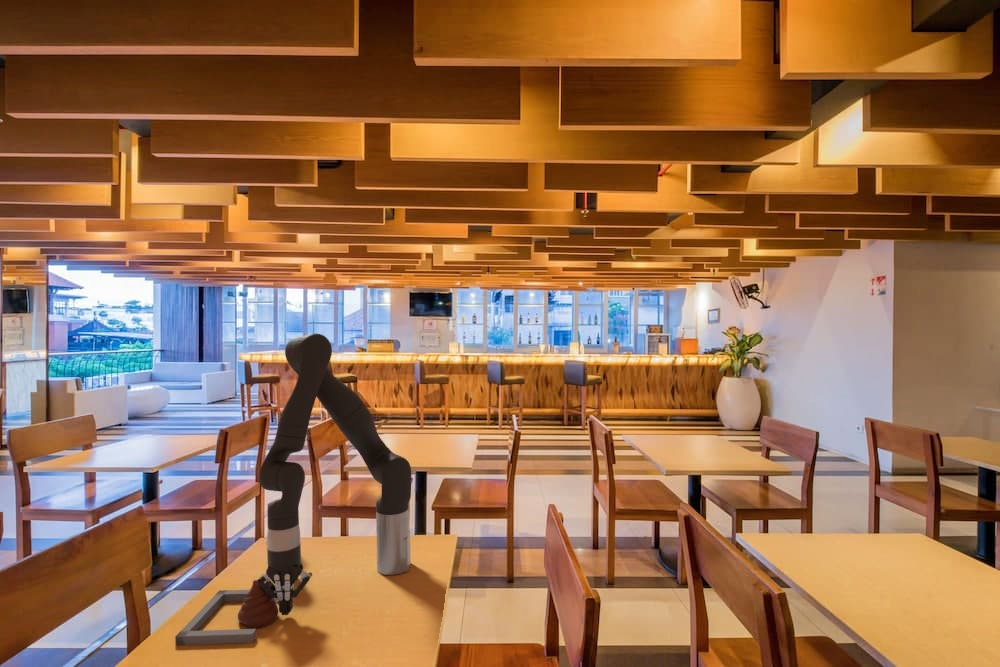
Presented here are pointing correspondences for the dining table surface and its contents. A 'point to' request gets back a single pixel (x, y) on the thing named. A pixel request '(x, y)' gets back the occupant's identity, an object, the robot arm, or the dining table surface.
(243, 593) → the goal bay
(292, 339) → the robot arm
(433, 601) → the dining table surface
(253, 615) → the poop emoji
